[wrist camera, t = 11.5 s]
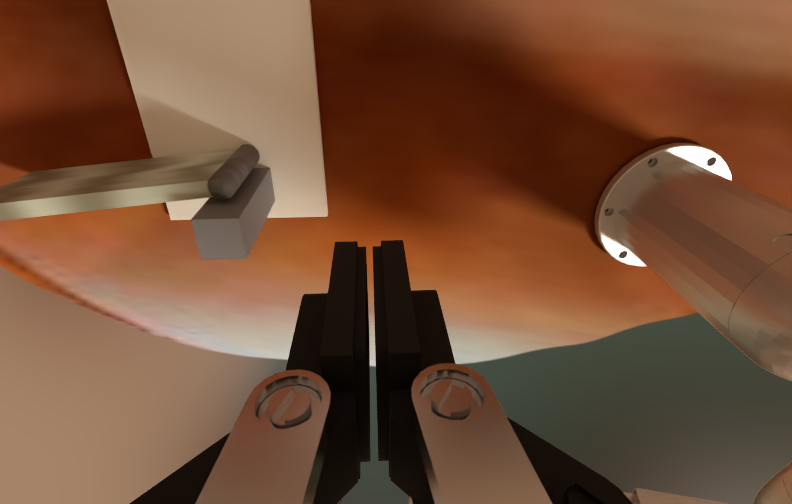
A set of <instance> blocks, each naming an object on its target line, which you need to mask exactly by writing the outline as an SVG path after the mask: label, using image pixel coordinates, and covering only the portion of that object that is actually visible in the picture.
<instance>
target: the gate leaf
mask: <svg viewBox="0 0 792 504" xmlns="http://www.w3.org/2000/svg"><path fill="white" fill-rule="evenodd" d="M259 158H260V155H259V152H258V150H257V149H256V148H255V147H254V146H253V145H250V144H244V145H241V146H240V147H239V148H238V149H230V150H221V151H212V152H203V153H194V154H185V155H176V156H167V157H158V158H149V159H140V160H131V161H122V162H113V163H104V164H95V165H86V166H77V167H68V168H59V169H50V170H40V171H33V172H31V173H29V174H27V175H25V176H23V177H20V178H18V179H16V180H14V181H12V182H10V183H8V184H6V185H4V186H1V187H0V221H2V220H11V219H20V218H29V217H38V216H47V215H56V214H65V213H74V212H83V211H92V210H101V209H110V208H119V207H128V206H137V205H146V204H155V203H164V202H173V201H182V200H191V199H200V198H209V197H215V198H217V199H219V200H227V199H230V198H231V197H232V196H233V195H234V194H235V192H236V191H237V189H238V188H239V187H240V185H241V184H242V183H243V181H244V180H245V179H246V177H247V176H248V175H249V173H250V172H251V170H252V169H253V168H254V166H255V165H256V164H257V162H258V161H259Z"/></svg>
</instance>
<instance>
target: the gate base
mask: <svg viewBox="0 0 792 504" xmlns="http://www.w3.org/2000/svg"><path fill="white" fill-rule="evenodd" d="M107 4H108V7H109V10H110V14H111V17H112V21H113V24H114V27H115V31H116V34H117V38H118V41H119V44H120V48H121V51H122V55H123V58H124V62H125V65H126V68H127V72H128V75H129V79H130V82H131V85H132V89H133V92H134V96H135V99H136V102H137V106H138V109H139V113H140V116H141V120H142V123H143V126H144V130H145V133H146V137H147V140H148V143H149V147H150V150H151V154H152V157H153V158H158V157H167V156H176V155H185V154H194V153H203V152H212V151H221V150H230V149H238V148H239V147H240V146H241V145H244V144H250V145H253V146H254V147H255V148H256V149H257V150H258V152H259V155H260V158H259V161H258V162H257V164H256V165H255V166H254V168H253V169H252V170H251V172H250V173H249V175H248V176H247V177H246V179H245V180H244V181H243V183H242V184H241V185H240V187H239V188H238V189H237V191H236V192H235V194H234V195H233V196H232V197H231V198H230V199H227V200H219V199H217V198H215V197H209V198H200V199H191V200H182V201H173V202H166V205H167V208H168V212H169V215H170V219H171V220H191V222H192V226H193V230H194V233H195V237H196V241H197V245H198V248H199V252H200V256H201V260H214V259H247V257H248V255H249V253H250V251H251V249H252V247H253V245H254V243H255V241H256V239H257V237H258V235H259V232H260V230H261V228H262V226H263V224H264V222H265V220H266V218H284V217H327V216H328V205H327V193H326V181H325V170H324V158H323V146H322V134H321V122H320V110H319V98H318V86H317V75H316V63H315V51H314V39H313V27H312V15H311V3H310V0H107Z"/></svg>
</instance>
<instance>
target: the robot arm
mask: <svg viewBox="0 0 792 504" xmlns="http://www.w3.org/2000/svg"><path fill="white" fill-rule="evenodd" d="M594 224H595V233H596V236H597V238H598V241H599V243H600V244H601V246H602V247H603V249H604V250H605V251H606V252H608V253H609V255H610V256H612V257H613V258H614V259H616V260H617V261H619V262H622V263H625V264H628V265H633V266H647V267H648V268H649V269H650V270H652V271H653V272H654V273H655V274H656V275H657V276H658V277H659V278H661V279H662V280H663V281H664V282H665V283H666V284H667V285H668V286H669V287H671V288H672V289H673V290H674V291H675V292H676V293H677V294H678V295H679V296H681V297H682V298H683V299H684V300H685V301H686V302H687V303H688V304H689V305H691V306H692V307H693V308H694V309H695V310H696V311H697V312H698V313H699V314H701V315H702V316H703V317H704V318H705V319H706V320H707V321H708V322H709V323H711V324H712V325H713V326H714V327H715V328H716V329H717V330H718V331H719V332H721V333H722V334H723V335H724V336H725V337H726V338H727V339H729V340H730V341H731V342H732V343H733V344H734V345H735V346H736V347H738V348H739V349H740V350H741V351H742V352H743V353H744V354H745V355H747V356H748V357H749V358H750V359H751V360H753V361H754V362H755V363H756V364H758V365H759V366H761V367H763V368H764V369H766V370H767V371H769V372H771V373H773V374H775V375H778V376H780V377H782V378H785V379H787V380H790V381H792V208H791V207H789V206H787V205H784V204H782V203H780V202H778V201H776V200H773V199H771V198H769V197H767V196H765V195H763V194H760V193H758V192H756V191H754V190H752V189H749V188H747V187H745V186H743V185H741V184H738V183H736V182H734V181H732V177H731V172H730V170H729V167H728V165H727V163H726V162H725V161H724V160H723V158H722V157H721V156H720V155H719V154H717V153H715V152H714V151H712V150H711V149H708V148H706V147H703V146H701V145H697V144H692V143H671V144H666V145H661V146H659V147H656V148H654V149H651V150H648V151H646V152H645V153H643V154H641V155H639V156H637V157H636V158H634V159H633V160H632V161H630V162H629V163H628V164H626V165H625V166H624V167H623V168H622V169H621V170H620V171H619V172H618V173H617V174H616V175H615V176H614V177H613V178H612V180H611V181H610V182H609V184H608V185H607V186H606V188H605V189H604V191H603V193H602V195H601V197H600V199H599V202H598V205H597V208H596V212H595V220H594ZM373 273H374V310H375V347H376V379H377V380H376V382H377V420H378V454H379V461H385V460H386V461H387V460H389V477H391V481H392V482H394V483H395V484H396V485H397V486H398V487H399V488H401V489H402V490H403V491H404V492H405V493H406V494H408V502H409V504H728V503H722V502H716V501H711V500H705V499H699V498H692V497H687V496H681V495H675V494H669V493H663V492H657V491H651V490H646V489H639V488H635V489H634V491H633V494H631V493H625V492H622V491H621V490H620V489H619V488H618V487H616V486H615V485H614V484H612V483H611V482H610V481H609V480H607V479H606V478H604V477H603V476H601V475H599V474H598V473H596V472H594V471H593V470H591V469H590V468H588V467H587V466H585V465H583V464H582V463H580V462H579V461H577V460H575V459H574V458H572V457H570V456H569V455H567V454H566V453H564V452H562V451H561V450H559V449H558V448H556V447H554V446H553V445H551V444H550V443H548V442H546V441H545V440H543V439H541V438H540V437H538V436H537V435H535V434H533V433H532V432H530V431H529V430H527V429H525V428H524V427H522V426H521V425H519V424H517V423H516V422H514V421H512V420H511V419H509V418H508V417H506V415H505V413H504V411H503V409H502V407H501V406H500V404H499V402H498V400H497V398H496V396H495V394H494V392H493V390H492V389H491V387H490V385H489V384H488V383H487V382H486V380H485V379H484V377H483V376H481V375H480V374H479V373H477V372H476V371H474V370H473V369H470V368H468V367H466V366H464V365H459V364H455V361H454V357H453V353H452V349H451V345H450V341H449V337H448V333H447V329H446V325H445V321H444V317H443V314H442V310H441V306H440V302H439V298H438V294H437V291H436V290H418V291H411V288H410V282H409V276H408V270H407V263H406V257H405V251H404V245H403V240H394V241H381V246H380V247H373ZM369 377H370V374H369V318H368V291H367V263H366V247H358V244H357V241H355V242H335V247H334V254H333V261H332V268H331V276H330V283H329V290H328V293H325V294H304V295H303V297H302V301H301V305H300V310H299V314H298V318H297V323H296V327H295V332H294V336H293V341H292V345H291V349H290V354H289V358H288V363H287V367H286V371H283V372H279V373H276V374H274V375H272V376H270V377H268V378H266V379H265V380H263V381H262V382H261V383H260V384H259V385H258V386H256V387H255V388H254V390H253V391H252V393H251V394H250V395H249V397H248V399H247V401H246V403H245V405H244V407H243V409H242V411H241V413H240V415H239V417H238V419H237V421H236V423H235V425H234V427H233V429H232V431H231V432H230V433H229V434H227V435H226V436H224V437H223V438H222V439H220V440H219V441H217V442H216V443H215V444H213V445H212V446H210V447H209V448H208V449H206V450H205V451H203V452H202V453H200V454H199V455H198V456H196V457H195V458H193V459H192V460H191V461H189V462H188V463H186V464H185V465H184V466H182V467H181V468H179V469H178V470H176V471H175V472H174V473H172V474H171V475H169V476H168V477H167V478H165V479H164V480H162V481H161V482H160V483H158V484H157V485H155V486H154V487H152V488H151V489H150V490H148V491H147V492H145V493H144V494H143V495H141V496H140V497H138V498H137V499H136V500H134V501H133V502H131V503H130V504H342V498H343V497H344V496H345V495H346V494H347V493H348V492H349V490H350V489H352V487H353V486H354V485H355V484H356V483H357V482H358V479H360V462H368V461H370V383H369V382H370V378H369ZM753 504H792V462H791V463H789V464H788V465H787V466H785V467H784V468H783V469H782V470H781V471H779V472H778V473H777V474H776V475H774V476H773V477H772V478H771V479H770V480H769V481H768V482H767V483H766V484H765V485H764V486H763V487H762V488H761V490H760V491H759V492H758V494H757V496H756V497H755V500H754V503H753Z"/></svg>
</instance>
